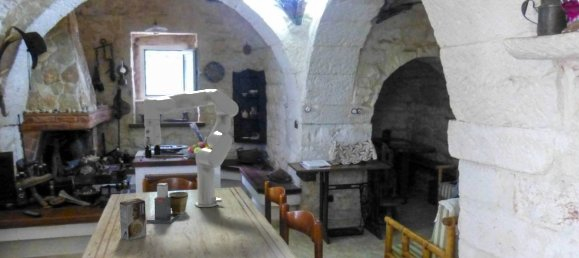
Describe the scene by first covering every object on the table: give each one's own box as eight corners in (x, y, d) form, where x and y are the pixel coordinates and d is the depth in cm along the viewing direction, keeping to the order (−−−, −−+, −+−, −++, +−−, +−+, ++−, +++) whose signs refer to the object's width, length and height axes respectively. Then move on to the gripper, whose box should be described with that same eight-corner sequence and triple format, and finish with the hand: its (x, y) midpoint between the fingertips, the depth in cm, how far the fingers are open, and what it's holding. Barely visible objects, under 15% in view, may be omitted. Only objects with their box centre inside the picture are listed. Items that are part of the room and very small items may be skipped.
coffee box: (138, 232, 207) (137, 197, 205) (146, 235, 203) (145, 200, 201) (120, 237, 200) (119, 201, 198) (128, 241, 196) (127, 204, 194)
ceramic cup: (192, 212, 240) (192, 193, 239) (175, 216, 232) (175, 197, 231) (178, 207, 248) (178, 189, 247) (162, 211, 241) (161, 192, 240)
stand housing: (179, 216, 232) (178, 194, 231) (170, 223, 220) (169, 200, 219) (156, 215, 233) (155, 193, 232) (146, 222, 222) (145, 199, 220)
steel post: (168, 214, 228) (167, 183, 227) (165, 217, 224) (164, 185, 223) (160, 214, 229) (160, 183, 227) (157, 216, 225) (156, 184, 223)
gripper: (151, 124, 221) (152, 159, 222) (166, 121, 237) (167, 154, 239) (136, 124, 222) (137, 158, 223) (153, 121, 239) (153, 153, 240)
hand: (152, 156), depth 231 cm, fingers open, 9 cm apart
